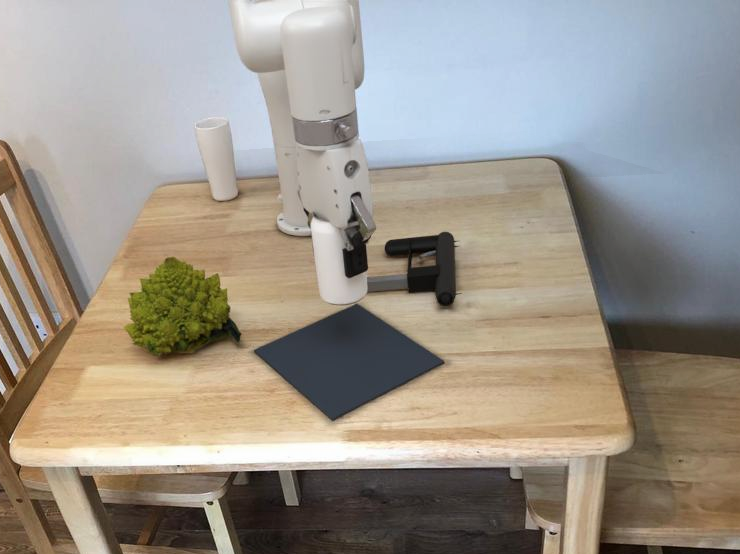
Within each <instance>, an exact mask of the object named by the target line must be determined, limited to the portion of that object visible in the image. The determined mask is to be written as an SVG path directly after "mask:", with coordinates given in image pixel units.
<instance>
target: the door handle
mask: <svg viewBox="0 0 740 554" xmlns="http://www.w3.org/2000/svg"><path fill="white" fill-rule="evenodd" d="M457 242H459V240H455V237H454V235H453V233H451V232H450V231H442V232H440V233H438V234H434V235H424V236H413V237H405V238H404V237H403V238H395V239H394V238H393V239H389V240H387V241H386V242H385V244H384V252H385V254H386V255H387V256H388V257H398V256H407V257H408V258H407V269H406V270H407V271H406V273H398V274H388V275H386V274H385V275H377V276H376V275H375V276H367V287H368V291H367V293H369V292H380V291H393V290H404V289H408V294H414V293H426V292H435V295H434V296H435V300H436V302H437V304H438V305H439V306H440V307H443V308H447V307H451V306H452V305H453V304H454V303H455V300H456V298H457V296H459V295H462V294H463V293H462V292H459V293H458V292H457V283H456V253H455V252H456V251H455V249H456V248H458V247H460V245H455V243H457ZM418 254H419V255H418ZM413 255H418V258H419V260H421V261H422V260H423V259H426V258H428V257H431V256H435V265H425V266H414V267H413V266H412V265H413V264H412V263H413Z"/></svg>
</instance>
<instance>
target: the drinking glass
mask: <svg viewBox="0 0 740 554" xmlns="http://www.w3.org/2000/svg"><path fill="white" fill-rule="evenodd" d="M193 128H194V134H195V138H196V143H197V147H198V151H199V154H200V157H201V161H202V164H203V167H204V170H205V174H206V177H207V181H208V185H209V188H210V192H211V196H212V198H213V199H214V200H215V201H218V202H227V201H230V200H233V199H235V198H237V197H238V195H239V188H238V180H237V170H236V161H235V160H236V159H235V152H234V142H233V135H232V130H231V126H230V122H229V119H228V118H226V117H223V116H222V117H221V116H214V117H208V118H203V119H201V120H199V121H196V123H194V126H193Z"/></svg>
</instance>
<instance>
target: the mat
mask: <svg viewBox="0 0 740 554" xmlns="http://www.w3.org/2000/svg"><path fill="white" fill-rule="evenodd" d="M253 352H254V353H255V354H256V355H257V356H258V357H259V358H260V359H261V360H263V361H264V362H265V363H266V364H267V365H268V366H269V367H270V368H272V370H274V371H275V372H276V373H277V374H278V375H280V376H281V377H282V378H283V379H284V380H285V381H286V382H288V383H289V384H290V385H291V386H292V387H293V388H294V389H295V390H297V391H298V392H299V393H300V394H301V395H302V396H303V397H305V398H306V399H307V400H308V402H310V403H311V404H313V406H314V407H316V408H317V409H318V410H319V411H320V412H322V413H323V415H325V417H327V418H328V419H330V421H332V422H333V421H336V420H337V419H339V418H341V417H343V416H345V415H347V414H349V413H351V412H353V411H355V410H357V409H358V408H360V407H363V406H364V405H366V404H368V403H371V402H372V401H374V400H376V399H378V398H380V397H382V396H384V395H386V394H387V393H389V392H391V391H394V390H395V389H397V388H399V387H401V386H404V385H405V384H407V383H409V382H411V381H413V380H415V379H416V378H419V377H421V376H423V375H425V374H427V373H429V372H430V371H432V370H435V369H436V368H438V367H440V366H442V365H444V364H445V360H444V359H443V358H441V357H439V356H438V355H436V354H434V353H433V352H432V351H430V350H429V349H427V348H425V347H424V346H422V345H421V344H420V343H418V342H416V341H415V340H413V339H411V337H408V336H407V335H405V334H404V333H402V332H401V331H400V330H398V329H396V328H395V327H393V326H392V325H391V324H389V323H387V322H386V321H384V320H383V319H381V318H380V317H378V316H377V315H375V314H373V313H372V312H370V311H369V310H367V308H365V307H363V306H361V305H360V304H358V303H354V304H352V305H349V307H346V308H344V309H342V310H340V311H337V312H335V313H333V314H330V315H328V316H326V317H324V318H321V319H319V320H318V321H315V322H312V323H311V324H308V325H306V326H304V327H302V328H299V329H297V330H295V331H292V332H290V333H289V334H286V335H284V336H281V337H279V338H278V339H275V340H272V341H270V342H269V343H266V344H264V345H262V346H259V347H257V348H255V349H253Z"/></svg>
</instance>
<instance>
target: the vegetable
mask: <svg viewBox="0 0 740 554" xmlns="http://www.w3.org/2000/svg"><path fill="white" fill-rule="evenodd" d="M148 276H149V278H139V281H140V285H141V288H140V290H141V291H137V292H129V295H130V297H128V298H127V301H128V305H129V313H130V315H129V316H130V318H129V320H131V321H132V322H133V323H129V324H127V325H124V326H123V328H124V330H125V331H126V332H127V334H128V335H129V336H130V339H131V340H132V342H133V343H132V345H133V346H137V347H144V348H146V349H147V351H148V353H149V354H150V355H152V356H156V357H159V356H160V355H161V354H162V353H163V355H164V356H167V355H169V354H170V353H172V352H175V353H177V354H195V352H196V350H199V349H201V348H202V347H204V346H206V345H207V344H208V345H209V344H210V343H211V342H217V341H222V340H225V339H228V338H229V337H231V339H232V340H233V341H234V343H235V344H240V343H241V336H242V332H240V330H239V328H238V325H237V324H236V322H235V321H233V319H232V318H231V316H230V313H231V306H230V304H229V302H228V301H229V297H228V288H224V289H222V288H221V278H220V275H219V273H215V274H212V275H211V276H210V277H206V272H205V269H200V270H199V269H194V266H193V264H191V263H188V264H187V261H186V260H185V261H183V260H181V259H177V258H176V257H174V256H167V257H166V258H165V259H164V260H163V262H162V263H161V264H158V266H157V267H155V270H154V273H149V274H148Z"/></svg>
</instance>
